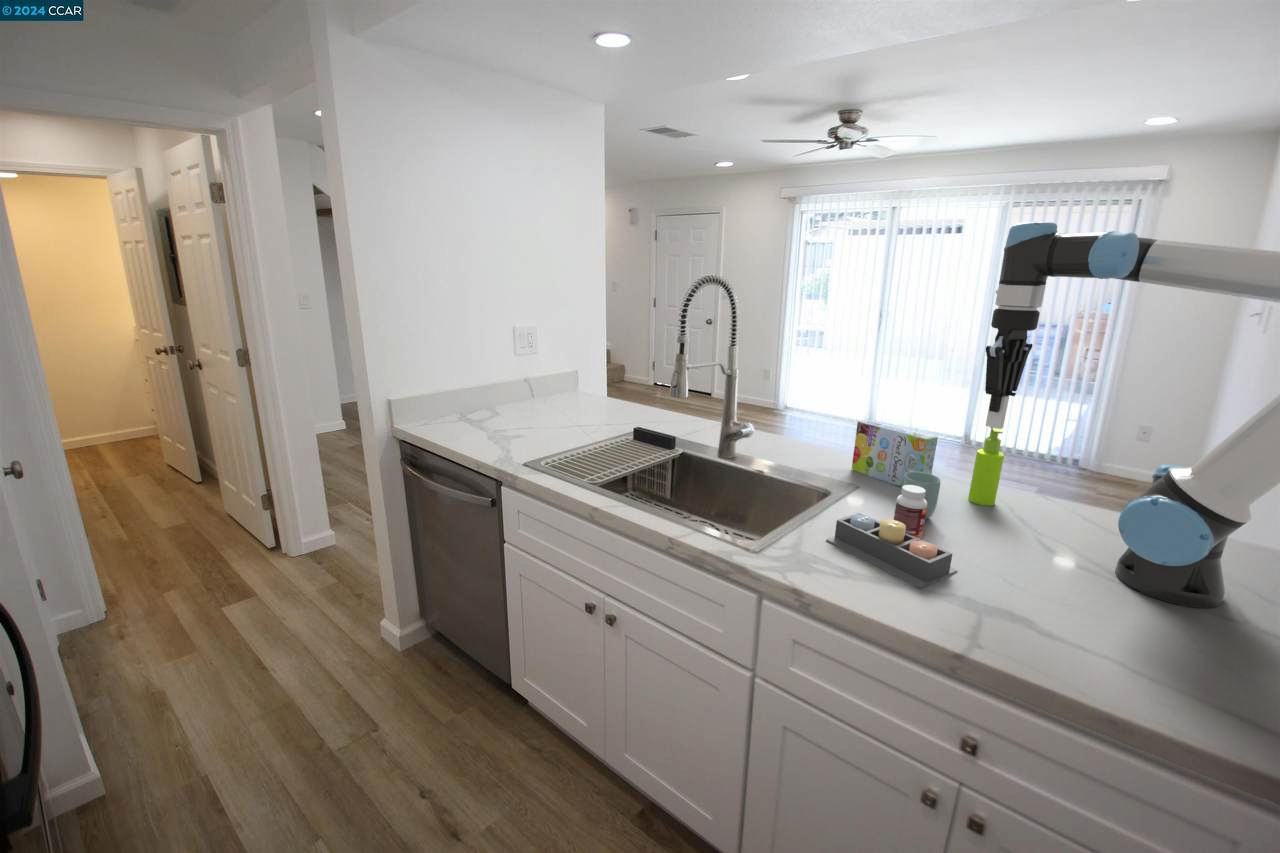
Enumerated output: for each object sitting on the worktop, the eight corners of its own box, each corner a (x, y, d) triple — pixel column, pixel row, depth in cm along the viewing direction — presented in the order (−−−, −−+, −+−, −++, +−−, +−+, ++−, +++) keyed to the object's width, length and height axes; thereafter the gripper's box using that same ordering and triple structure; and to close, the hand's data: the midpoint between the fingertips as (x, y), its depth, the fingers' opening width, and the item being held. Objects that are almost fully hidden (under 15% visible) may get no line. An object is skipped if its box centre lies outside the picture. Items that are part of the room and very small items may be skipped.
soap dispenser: (970, 504, 145) (984, 428, 139) (966, 495, 151) (980, 421, 145) (997, 508, 142) (1012, 431, 137) (992, 498, 149) (1007, 424, 143)
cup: (938, 524, 133) (945, 484, 130) (902, 521, 134) (908, 481, 132) (929, 511, 140) (935, 472, 138) (895, 508, 142) (900, 470, 139)
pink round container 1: (939, 569, 112) (942, 547, 110) (924, 576, 109) (928, 553, 108) (916, 559, 116) (919, 537, 114) (901, 565, 113) (905, 543, 112)
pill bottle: (924, 543, 124) (932, 495, 121) (893, 538, 126) (900, 492, 123) (919, 531, 130) (927, 485, 127) (890, 527, 131) (896, 482, 128)
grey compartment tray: (957, 572, 112) (960, 551, 111) (920, 588, 106) (923, 566, 105) (862, 528, 130) (864, 510, 129) (826, 540, 124) (828, 521, 123)
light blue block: (877, 540, 123) (879, 520, 122) (862, 545, 121) (865, 525, 119) (858, 531, 127) (860, 512, 126) (843, 536, 125) (846, 516, 123)
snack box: (930, 489, 154) (939, 436, 150) (918, 494, 151) (927, 439, 147) (861, 466, 171) (868, 418, 167) (849, 470, 168) (856, 420, 164)
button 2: (907, 546, 117) (911, 525, 116) (892, 552, 114) (896, 530, 113) (887, 537, 121) (890, 516, 119) (872, 542, 118) (875, 521, 117)
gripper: (1014, 306, 116) (992, 418, 123) (978, 307, 110) (957, 426, 116) (1055, 308, 110) (1030, 427, 117) (1020, 310, 104) (996, 435, 110)
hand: (994, 426), depth 116 cm, fingers closed
